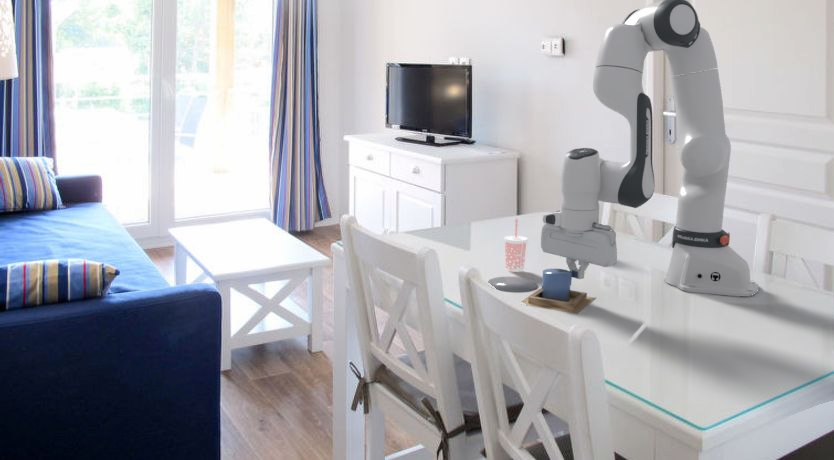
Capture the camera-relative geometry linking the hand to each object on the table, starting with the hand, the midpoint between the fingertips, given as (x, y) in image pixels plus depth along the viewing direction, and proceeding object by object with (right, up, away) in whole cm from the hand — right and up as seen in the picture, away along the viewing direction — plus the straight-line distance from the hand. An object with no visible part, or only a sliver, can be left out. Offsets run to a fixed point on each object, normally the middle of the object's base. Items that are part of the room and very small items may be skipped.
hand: (576, 277), depth 207 cm
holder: (-5, -6, -2) cm, 8 cm away
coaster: (-14, -3, +11) cm, 18 cm away
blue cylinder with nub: (-4, -5, +1) cm, 6 cm away
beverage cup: (-12, 0, +25) cm, 28 cm away
